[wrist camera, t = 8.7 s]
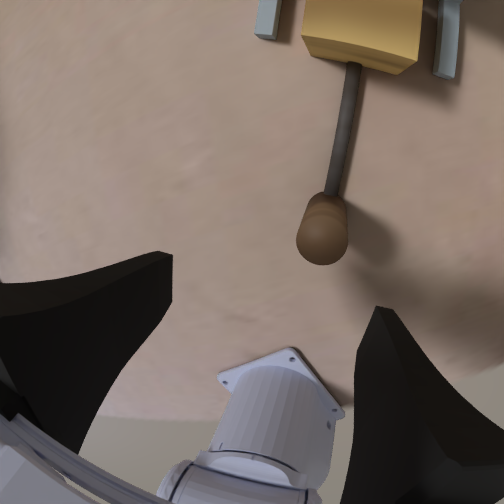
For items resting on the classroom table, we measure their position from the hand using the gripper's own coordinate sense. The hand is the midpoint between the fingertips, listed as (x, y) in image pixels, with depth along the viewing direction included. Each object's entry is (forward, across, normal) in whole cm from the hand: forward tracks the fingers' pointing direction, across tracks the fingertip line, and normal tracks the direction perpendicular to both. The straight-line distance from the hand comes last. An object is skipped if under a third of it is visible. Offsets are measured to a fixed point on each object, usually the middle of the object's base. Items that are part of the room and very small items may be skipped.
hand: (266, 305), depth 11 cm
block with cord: (+10, -1, -7) cm, 12 cm away
